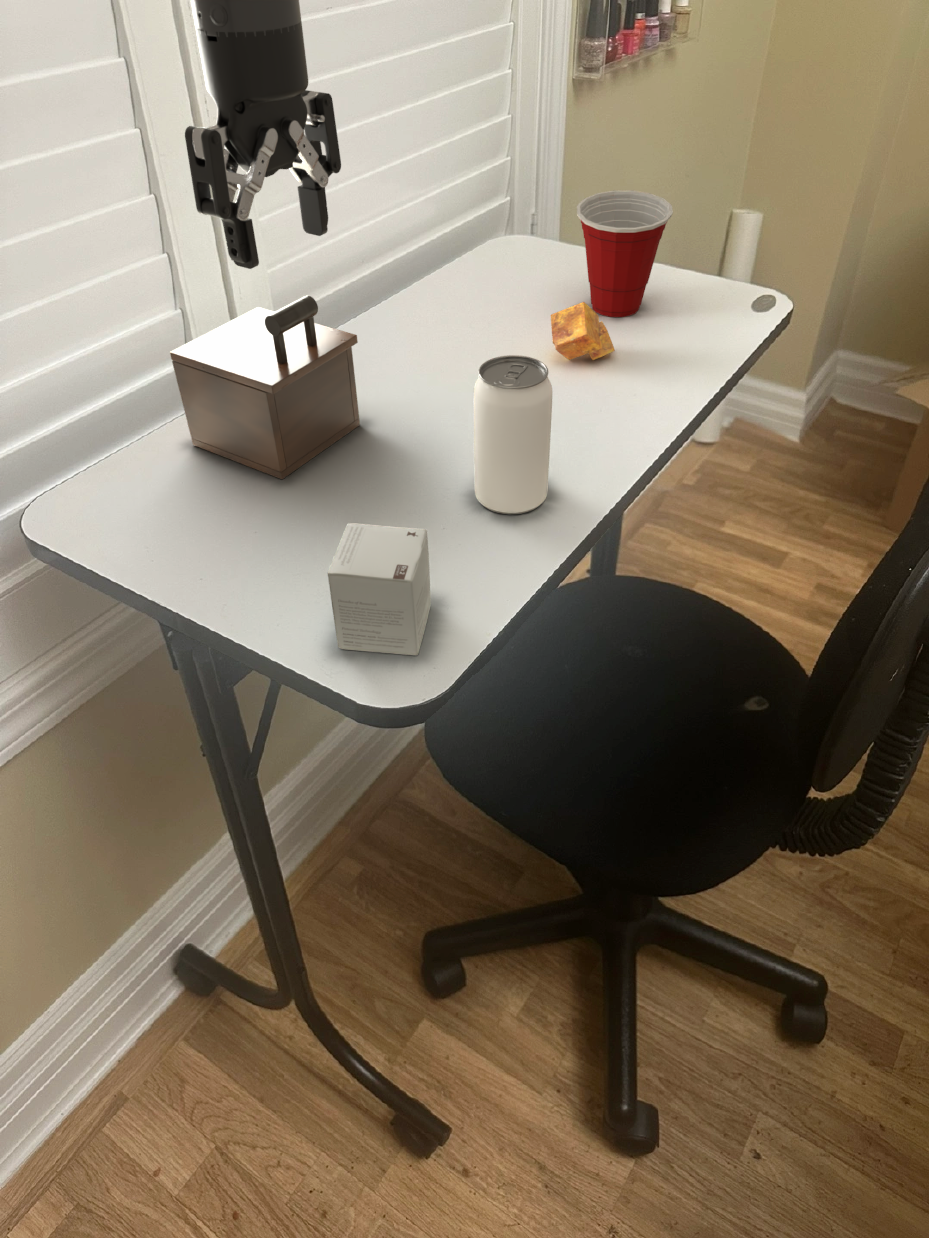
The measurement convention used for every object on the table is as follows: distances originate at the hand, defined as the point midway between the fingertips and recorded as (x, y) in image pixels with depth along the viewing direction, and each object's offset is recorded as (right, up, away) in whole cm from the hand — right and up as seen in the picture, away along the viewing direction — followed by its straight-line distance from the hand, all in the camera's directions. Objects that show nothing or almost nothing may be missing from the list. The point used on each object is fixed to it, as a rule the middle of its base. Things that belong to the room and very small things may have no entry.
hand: (282, 249), depth 75 cm
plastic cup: (+33, +7, +35) cm, 49 cm away
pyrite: (+28, -2, +25) cm, 38 cm away
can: (+19, -20, +6) cm, 28 cm away
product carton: (+9, -31, -7) cm, 33 cm away
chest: (-3, -13, +14) cm, 19 cm away
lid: (-3, -6, +8) cm, 11 cm away
